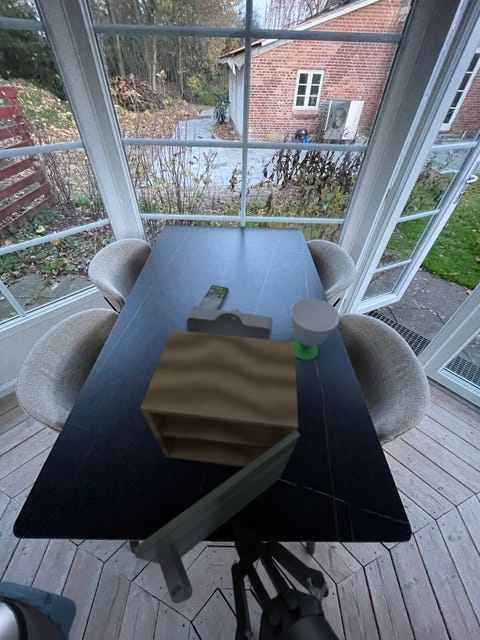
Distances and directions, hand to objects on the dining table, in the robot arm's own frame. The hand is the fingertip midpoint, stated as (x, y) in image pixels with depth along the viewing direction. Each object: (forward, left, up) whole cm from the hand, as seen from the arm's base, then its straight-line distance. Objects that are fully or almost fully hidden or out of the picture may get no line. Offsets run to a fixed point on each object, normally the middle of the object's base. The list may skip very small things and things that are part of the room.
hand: (237, 525), depth 46 cm
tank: (+49, +8, -9) cm, 50 cm away
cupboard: (+21, +5, -8) cm, 23 cm away
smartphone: (+69, +17, -8) cm, 71 cm away
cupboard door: (0, 0, -8) cm, 8 cm away
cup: (+49, -16, -8) cm, 52 cm away
